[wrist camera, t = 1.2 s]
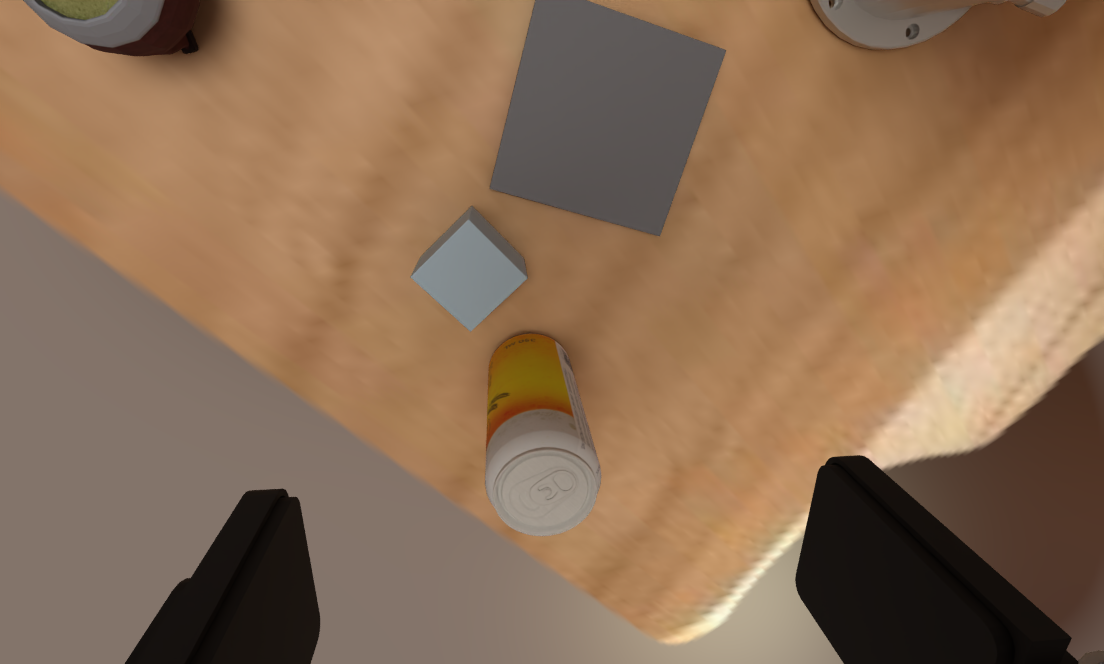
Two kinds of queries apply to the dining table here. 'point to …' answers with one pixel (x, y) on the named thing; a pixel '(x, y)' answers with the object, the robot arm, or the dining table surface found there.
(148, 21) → the mate gourd
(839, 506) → the robot arm
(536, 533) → the beer can
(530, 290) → the dining table surface
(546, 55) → the coaster
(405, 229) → the dining table surface
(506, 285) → the letter block
